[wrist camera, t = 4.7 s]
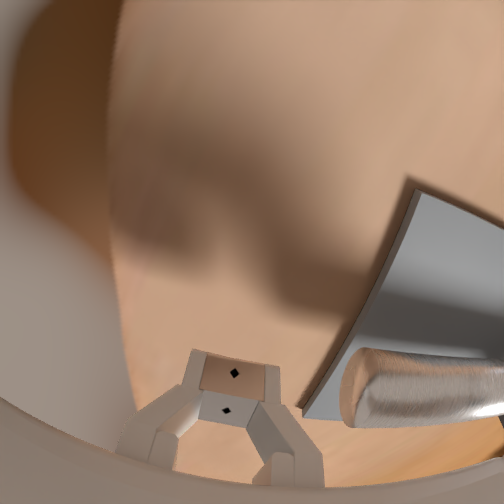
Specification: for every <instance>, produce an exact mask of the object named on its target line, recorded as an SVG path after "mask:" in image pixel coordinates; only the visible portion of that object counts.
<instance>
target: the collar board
mask: <svg viewBox="0 0 504 504" xmlns="http://www.w3.org/2000/svg"><path fill="white" fill-rule="evenodd" d="M363 347H367V348H374V349H382V350H390V351H399V352H408V353H418V354H428V355H439V356H452V357H467V358H485V359H504V229H503V228H501V227H499V226H497V225H495V224H493V223H491V222H489V221H488V220H485V219H483V218H481V217H479V216H477V215H475V214H473V213H471V212H469V211H467V210H465V209H463V208H460V207H458V206H456V205H454V204H451V203H449V202H447V201H445V200H442V199H440V198H438V197H435V196H433V195H431V194H428V193H426V192H423V191H421V190H418V189H416V188H415V191H414V194H413V196H412V199H411V202H410V204H409V207H408V209H407V212H406V214H405V217H404V219H403V222H402V224H401V227H400V229H399V232H398V234H397V236H396V239H395V241H394V243H393V246H392V248H391V250H390V252H389V255H388V257H387V259H386V261H385V264H384V266H383V268H382V270H381V272H380V274H379V276H378V278H377V281H376V283H375V285H374V287H373V289H372V291H371V293H370V295H369V297H368V299H367V301H366V303H365V305H364V307H363V309H362V310H361V312H360V314H359V316H358V318H357V320H356V322H355V324H354V326H353V327H352V329H351V331H350V333H349V335H348V336H347V338H346V340H345V342H344V344H343V345H342V347H341V349H340V350H339V352H338V354H337V356H336V357H335V359H334V361H333V362H332V364H331V366H330V367H329V369H328V371H327V372H326V374H325V376H324V377H323V379H322V380H321V382H320V384H319V385H318V387H317V388H316V390H315V391H314V393H313V395H312V396H311V398H310V399H309V401H308V402H307V404H306V405H305V407H304V408H303V410H302V417H303V418H307V419H319V420H334V421H343V420H342V417H341V414H340V408H339V392H340V385H341V380H342V376H343V373H344V370H345V368H346V365H347V363H348V361H349V359H350V358H351V356H352V355H353V354H354V353H355V352H356V351H357V350H358V349H360V348H363ZM498 417H499V419H500V421H501V423H502V426H503V428H504V415H499V416H498Z"/></svg>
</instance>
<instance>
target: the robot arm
mask: <svg viewBox="0 0 504 504" xmlns="http://www.w3.org/2000/svg"><path fill="white" fill-rule="evenodd" d="M198 419H200V420H205V421H211V422H216V423H222V424H227V425H232V426H237V427H242V428H246V430H247V432H248V434H249V436H250V438H251V440H252V442H253V444H254V446H255V447H256V449H257V451H258V453H259V455H260V457H261V458H262V460H263V462H264V464H265V465H264V466H263V467H262V468H261V469H260V471H259V472H258V473H257V474H256V475H255V477H254V478H253V481H252V484H246V483H238V482H231V481H224V480H218V479H212V478H207V477H201V476H196V475H192V474H187V473H182V472H178V471H175V468H176V460H177V450H178V441H179V439H178V438H179V437H180V436H181V435H182V434H183V433H184V432H186V431H187V430H188V429H189V428H190V427H191V426H192V425H193V424H194V423H195V422H196V421H197V420H198ZM0 504H504V459H503V458H501V457H496V458H492V459H490V460H487V461H484V462H481V463H477V464H474V465H471V466H468V467H464V468H460V469H457V470H453V471H449V472H445V473H441V474H436V475H432V476H427V477H422V478H417V479H411V480H405V481H399V482H392V483H384V484H375V485H364V486H351V487H325V483H324V469H323V457H322V453H321V452H320V451H319V449H318V448H317V447H316V446H315V444H314V443H313V442H312V440H311V439H310V438H309V436H308V435H307V434H306V433H305V431H304V430H303V429H302V427H301V426H300V425H299V423H298V422H297V421H296V419H295V418H294V417H293V415H292V414H291V413H290V411H289V410H288V408H287V407H286V406H285V405H282V404H281V391H280V368H279V366H274V365H268V364H263V363H257V362H252V361H246V360H241V359H234V358H230V357H226V356H222V355H217V354H213V353H209V352H205V351H201V350H197V349H192V351H191V353H190V357H189V360H188V364H187V368H186V371H185V375H184V378H183V382H182V385H179V384H177V385H175V386H174V387H173V388H171V389H170V390H168V391H167V392H166V393H164V394H163V395H161V396H160V397H159V398H157V399H156V400H154V401H153V402H151V403H150V404H148V405H147V406H146V407H144V408H143V409H141V410H140V411H138V412H137V413H135V414H134V415H132V416H131V417H130V418H128V419H127V420H126V423H125V426H124V428H123V431H122V434H121V436H120V439H119V442H118V445H117V448H116V450H115V453H114V452H111V451H108V450H106V449H103V448H100V447H98V446H95V445H93V444H90V443H88V442H85V441H83V440H81V439H78V438H76V437H74V436H72V435H69V434H67V433H65V432H63V431H61V430H59V429H57V428H55V427H53V426H50V425H48V424H46V423H45V422H43V421H41V420H39V419H37V418H35V417H33V416H32V415H30V414H28V413H26V412H24V411H23V410H21V409H19V408H18V407H16V406H14V405H12V404H11V403H9V402H8V401H6V400H5V399H3V398H1V397H0Z"/></svg>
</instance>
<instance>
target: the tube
mask: <svg viewBox="0 0 504 504" xmlns="http://www.w3.org/2000/svg"><path fill="white" fill-rule="evenodd" d="M339 408H340V414H341V417H342V420H343V421H344V423H345V424H346V425H347V426H348V427H351V428H398V427H417V426H430V425H440V424H450V423H458V422H465V421H472V420H478V419H484V418H489V417H495V416H499V415H504V359H485V358H467V357H452V356H439V355H428V354H418V353H408V352H399V351H390V350H382V349H374V348H367V347H363V348H360V349H358V350H357V351H356V352H355V353H354V354H353V355H352V356H351V358H350V359H349V361H348V363H347V365H346V368H345V370H344V373H343V376H342V380H341V385H340V392H339Z"/></svg>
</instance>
